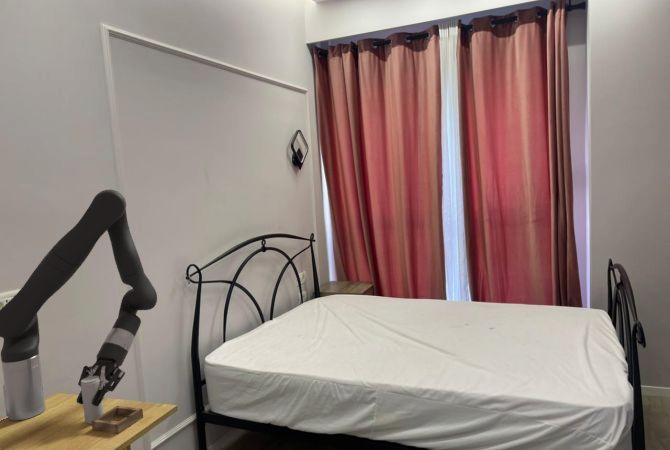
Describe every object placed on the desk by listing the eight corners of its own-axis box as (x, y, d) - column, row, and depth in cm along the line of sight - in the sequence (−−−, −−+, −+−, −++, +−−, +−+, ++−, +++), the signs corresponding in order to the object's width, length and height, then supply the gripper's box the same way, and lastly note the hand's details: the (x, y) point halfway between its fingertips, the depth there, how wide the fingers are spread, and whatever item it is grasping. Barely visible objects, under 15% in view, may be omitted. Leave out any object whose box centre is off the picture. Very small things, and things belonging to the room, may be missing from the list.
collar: (92, 430, 125) (91, 420, 125) (118, 414, 134) (117, 405, 133) (119, 433, 122) (118, 424, 122) (143, 417, 130) (142, 408, 130)
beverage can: (96, 424, 128) (91, 382, 127) (81, 424, 129) (76, 382, 128) (108, 416, 133) (103, 375, 132) (93, 415, 134) (88, 375, 133)
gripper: (89, 340, 138) (58, 397, 128) (127, 342, 134) (98, 401, 123) (105, 351, 144) (76, 406, 134) (142, 353, 139) (115, 411, 129)
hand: (87, 403), depth 128 cm, fingers closed on beverage can, 4 cm apart
